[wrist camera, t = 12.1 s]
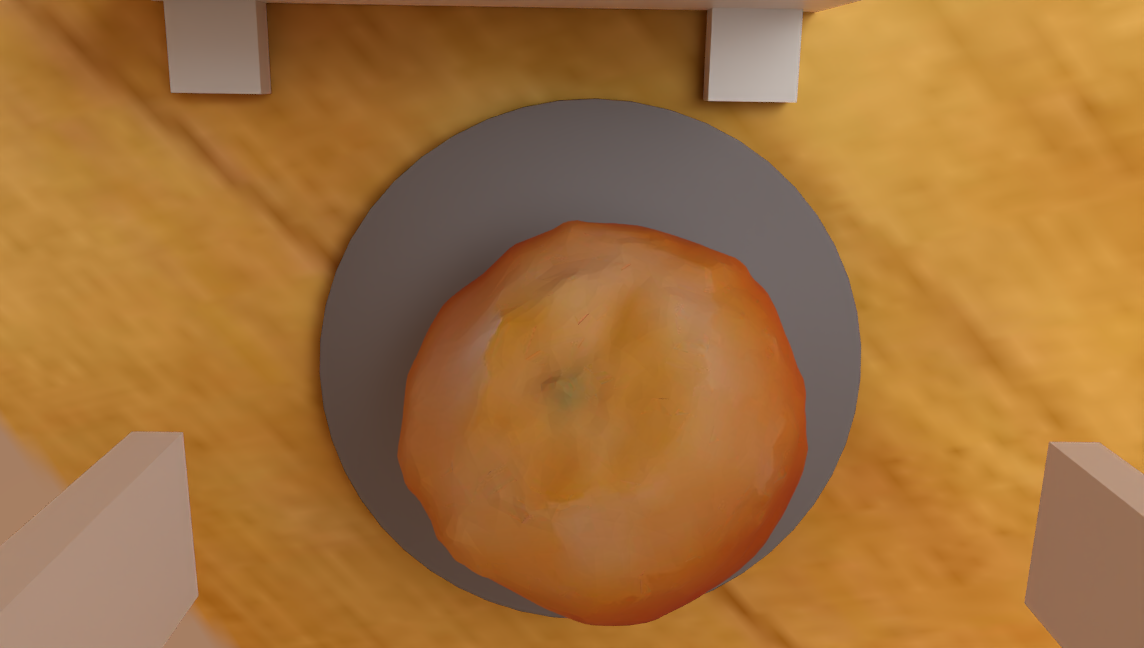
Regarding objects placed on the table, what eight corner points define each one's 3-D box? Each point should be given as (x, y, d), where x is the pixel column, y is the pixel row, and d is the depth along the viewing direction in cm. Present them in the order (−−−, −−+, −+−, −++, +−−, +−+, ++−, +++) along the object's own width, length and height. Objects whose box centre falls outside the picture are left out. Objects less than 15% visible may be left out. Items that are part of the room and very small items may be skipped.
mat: (314, 94, 23) (305, 94, 22) (874, 102, 23) (885, 103, 22) (338, 601, 26) (331, 617, 25) (830, 604, 26) (838, 621, 25)
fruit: (558, 667, 24) (446, 711, 16) (444, 379, 26) (300, 300, 19) (865, 528, 23) (898, 506, 15) (718, 245, 25) (684, 106, 18)
